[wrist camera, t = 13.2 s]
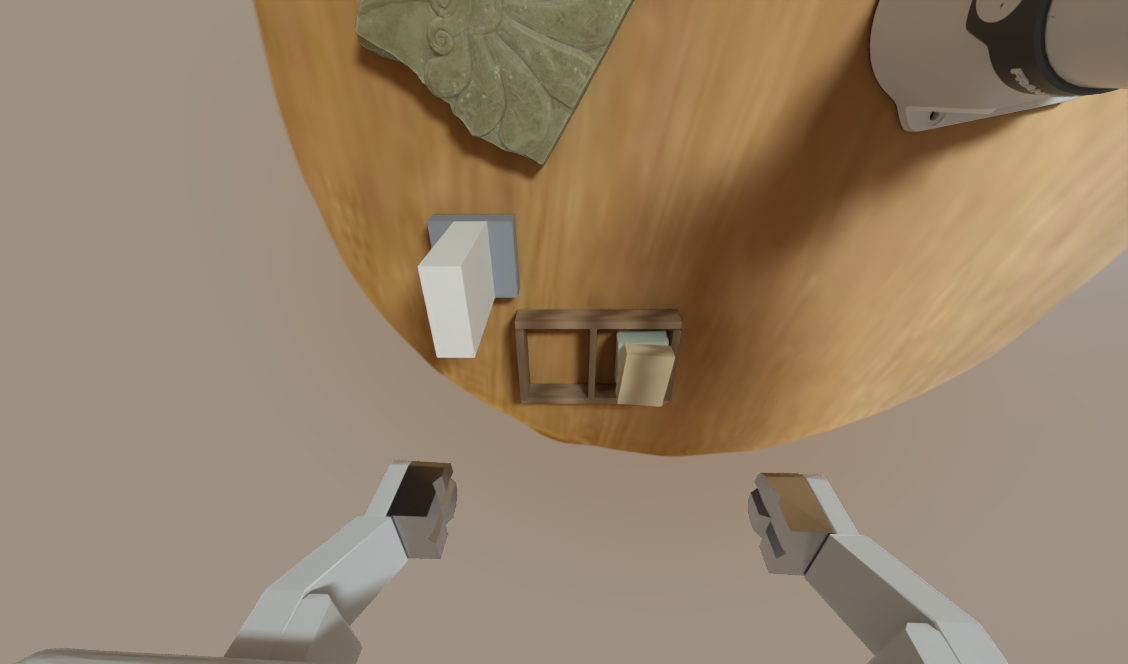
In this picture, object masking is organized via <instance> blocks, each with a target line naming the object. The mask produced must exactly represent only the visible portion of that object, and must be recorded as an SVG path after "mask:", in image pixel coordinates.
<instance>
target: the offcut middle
mask: <svg viewBox="0 0 1128 664" xmlns="http://www.w3.org/2000/svg"><path fill="white" fill-rule="evenodd" d="M625 343H636V344H650V345H664V346H669V340H668V338H667V335H666V332H665V331H650V332H630V333H616V383H617V380H618V375H619V370H620V365H621V359H622V354H623V349H624V344H625Z"/></svg>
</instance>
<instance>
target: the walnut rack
mask: <svg viewBox="0 0 1128 664" xmlns="http://www.w3.org/2000/svg"><path fill="white" fill-rule="evenodd" d="M681 327H682V320H681V318H680V316H679V314H678V311H677V310H517V314H516V319H515V338H516V350H517V362H518V374H519V386H520V398H521V403H522V404H617V398H616V392H615V391H616V386H617V384H595V368H596V345H597V329H666V331H667V338H668V340H669V346H671V348H672V350H673V353H674V356H675V360H674V364H673V368H672V371H671V375H670V378H669V382H668V386H667V389H666V393H665V396H664V400H663V404H668V402H669V401H670V398H671V392H672V386H673V380H674V375H675V369H676V363H677V357H678V352H679V346H680V340H681V334H682V330H681ZM527 329H589V350H588V382H587V384H530V372H529V357H528V342H527Z"/></svg>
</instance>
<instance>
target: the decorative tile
mask: <svg viewBox="0 0 1128 664" xmlns="http://www.w3.org/2000/svg"><path fill="white" fill-rule="evenodd" d="M633 1H634V0H360V4H359V10H358V15H357V20H356V26H355V32H356V33H357V35H358V42H359V43H360V45H361V46H363V47H365V48H367V49H369V50H371V51H373V52H375V53H376V54H378V55H379V56H381V57H385V58H388V59H391V60H394V61H397V62H402V63H404V64H405V65H406V66H407V67H410V68H411V69H412V70H413V71H414V72H415V73H416V74H417V75H418V77H419V78H420V80H421V81H422V83H424V84H425V85H426V86H427V88H428V89H429V91H430V92H431V93H432V94H433V95H434V96H436V97H439V98H440V99H442V100H443V101H445V102H447V103H449V104H450V106H451V109H452V111H453V114H454V115H455V116H456V117H458V118H459V119H460V120H461V121H462V122H463V123H464V124H465V126H466V127H467V128H468V130H469V131H470V133H471V134H472V135H473V136H475V137H479V138H482V139H484V140H486V141H488V142H490V143H493V144H494V145H496V146H498V147H500V148H501V149H503V150H505V151H509V152H513V153H516V154H519V155H521V156H523V157H527V158H529V159H532V160H534V161H535V162H537V163H539V164H540V165H544V164H545V163H546V162H547V160H548V158H549V156H550V155H551V153H552V151H553V149H554V148H555V146H556V144H557V142H558V141H559V139H560V137H561V135H562V133H563V132H564V130H565V128H566V126H567V124H568V123H569V121H570V119H571V117H572V115H573V114H574V112H575V110H576V108H577V106H578V105H579V103H580V101H581V99H582V97H583V95H584V94H585V92H586V90H587V88H588V86H589V84H590V82H591V80H592V78H593V76H594V75H595V73H596V71H597V69H598V67H599V65H600V63H601V62H602V60H603V58H604V56H605V54H606V52H607V50H608V49H609V47H610V45H611V43H612V41H613V39H614V38H615V36H616V34H617V32H618V30H619V28H620V26H621V24H622V22H623V20H624V18H625V16H626V14H627V13H628V11H629V9H630V7H631V5H632V3H633Z"/></svg>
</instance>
